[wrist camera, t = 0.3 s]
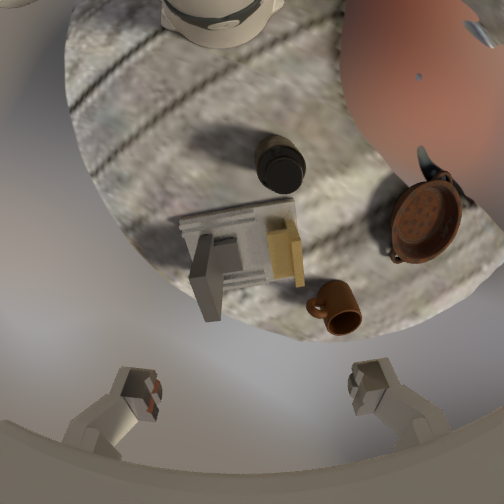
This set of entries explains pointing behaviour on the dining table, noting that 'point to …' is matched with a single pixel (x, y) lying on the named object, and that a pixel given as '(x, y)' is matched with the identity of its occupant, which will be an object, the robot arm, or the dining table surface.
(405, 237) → the dish
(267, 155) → the supplement bottle
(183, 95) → the dining table surface
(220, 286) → the gray rectangular block
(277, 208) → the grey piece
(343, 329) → the mug
